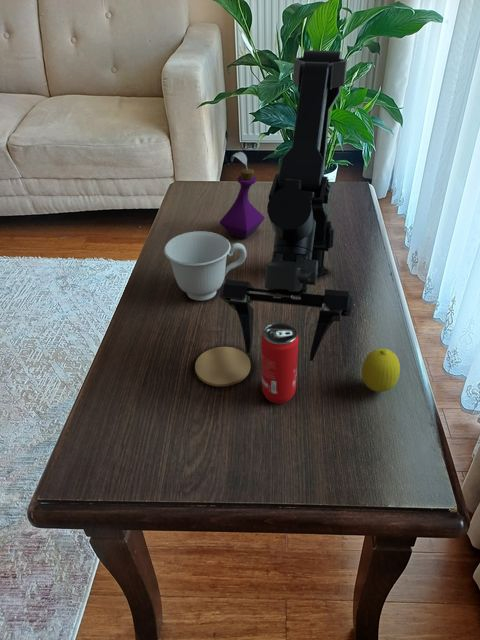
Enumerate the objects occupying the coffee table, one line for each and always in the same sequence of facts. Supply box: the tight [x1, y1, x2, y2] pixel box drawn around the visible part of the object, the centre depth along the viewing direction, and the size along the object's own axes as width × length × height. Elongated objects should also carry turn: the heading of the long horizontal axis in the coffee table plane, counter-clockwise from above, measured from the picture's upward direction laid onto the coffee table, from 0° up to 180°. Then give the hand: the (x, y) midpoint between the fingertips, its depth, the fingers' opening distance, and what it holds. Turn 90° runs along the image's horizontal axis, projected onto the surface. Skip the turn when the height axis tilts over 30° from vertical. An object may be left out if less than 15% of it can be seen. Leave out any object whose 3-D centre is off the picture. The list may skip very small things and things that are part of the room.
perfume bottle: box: [219, 151, 266, 240], centre depth 113 cm, size 8×8×18 cm
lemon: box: [361, 347, 401, 393], centre depth 78 cm, size 6×6×8 cm
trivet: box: [194, 346, 252, 388], centre depth 85 cm, size 9×9×1 cm
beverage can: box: [261, 322, 300, 405], centre depth 76 cm, size 5×5×12 cm
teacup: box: [163, 230, 247, 302], centre depth 98 cm, size 12×15×10 cm
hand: (279, 356), depth 75 cm, fingers open, 9 cm apart
